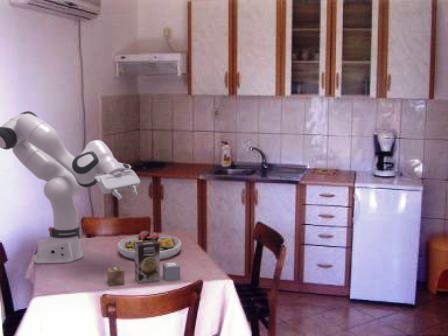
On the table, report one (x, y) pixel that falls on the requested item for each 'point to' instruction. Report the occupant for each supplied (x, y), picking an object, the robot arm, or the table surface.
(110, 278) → the brown cube
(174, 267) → the grey block
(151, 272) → the coffee box
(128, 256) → the bowl
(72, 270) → the table surface
